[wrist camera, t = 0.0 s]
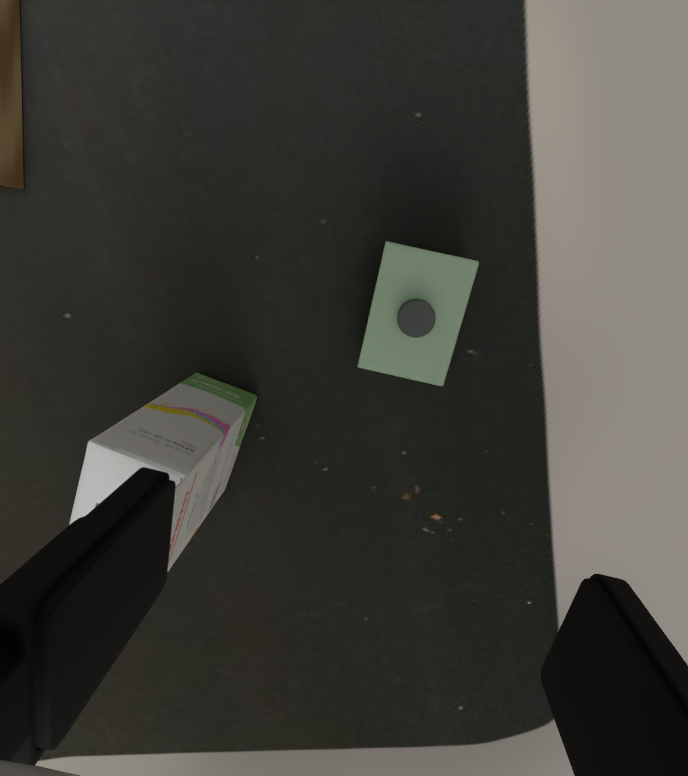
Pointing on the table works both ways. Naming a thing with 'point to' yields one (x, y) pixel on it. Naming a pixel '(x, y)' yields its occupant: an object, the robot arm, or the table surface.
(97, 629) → the robot arm
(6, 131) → the wooden frame
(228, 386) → the ink box
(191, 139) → the table surface
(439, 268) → the green knobbed block
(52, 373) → the table surface
